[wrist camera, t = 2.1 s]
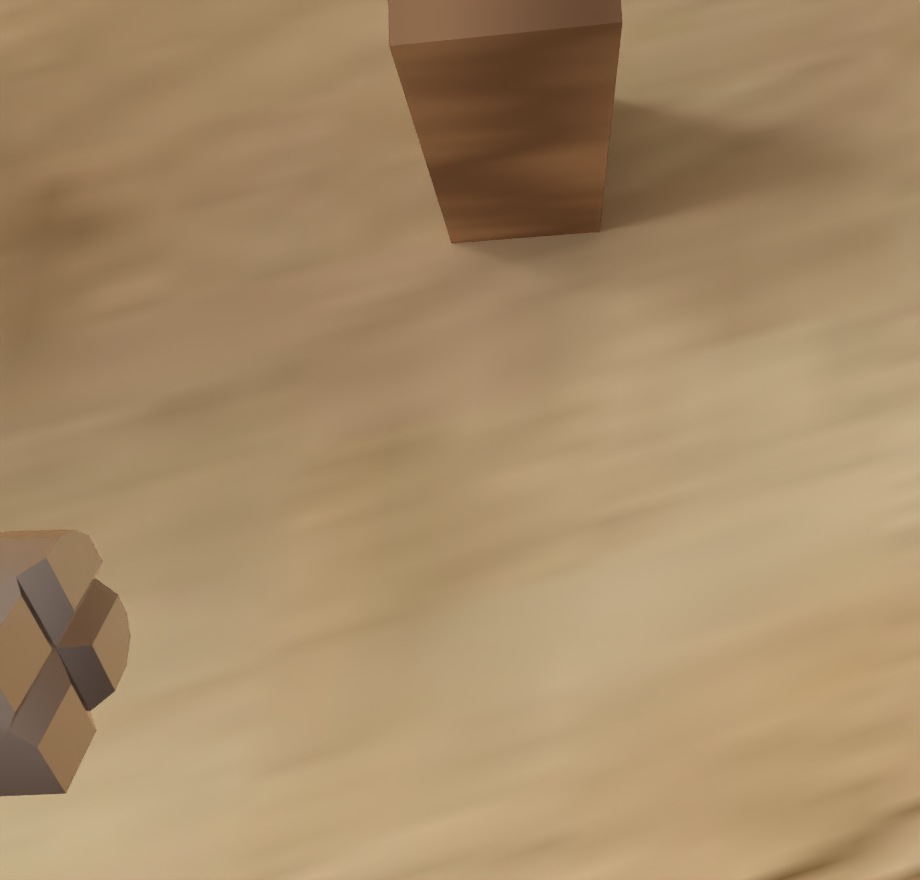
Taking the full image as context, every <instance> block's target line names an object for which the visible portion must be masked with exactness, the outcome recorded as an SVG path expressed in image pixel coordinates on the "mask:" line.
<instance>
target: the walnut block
mask: <svg viewBox="0 0 920 880" xmlns="http://www.w3.org/2000/svg"><path fill="white" fill-rule="evenodd" d="M388 5H389V46H390V49H391V52H392V56H393V59H394V62H395V65H396V68H397V72H398V75H399V78H400V81H401V84H402V87H403V91H404V94H405V97H406V100H407V103H408V106H409V110H410V113H411V116H412V119H413V122H414V125H415V129H416V132H417V135H418V138H419V141H420V144H421V148H422V151H423V154H424V157H425V160H426V163H427V167H428V170H429V173H430V176H431V179H432V182H433V186H434V189H435V192H436V195H437V198H438V201H439V205H440V208H441V211H442V214H443V217H444V221H445V224H446V227H447V230H448V233H449V236H450V240H451V243H459V242H472V241H485V240H498V239H511V238H524V237H536V236H549V235H562V234H575V233H588V232H599V228H600V219H601V210H602V201H603V192H604V183H605V174H606V165H607V156H608V147H609V138H610V129H611V120H612V110H613V101H614V92H615V83H616V74H617V65H618V56H619V47H620V38H621V29H622V12H621V0H388Z"/></svg>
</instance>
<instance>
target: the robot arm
mask: <svg viewBox="0 0 920 880" xmlns="http://www.w3.org/2000/svg"><path fill="white" fill-rule="evenodd" d="M101 564H102V559H101V557H100V556H99V554H98V552H97V550H96V548H95V546H94V544H93V542H92V540H91V539H90V537H89V535H87V534H84V533H81V532H78V531H75V530H47V531H5V532H0V796H15V795H41V794H66V792H67V790H68V788H69V786H70V784H71V782H72V780H73V778H74V776H75V774H76V772H77V769H78V767H79V765H80V763H81V761H82V759H83V757H84V755H85V753H86V751H87V749H88V747H89V745H90V743H91V740H92V738H93V736H94V734H95V732H96V728H95V724H94V721H93V718H92V715H91V710H92V709H93V708H95V707H96V706H97V705H98V704H99V703H101V702H102V701H103V700H104V699H106V698H107V697H108V696H109V695H111V694H112V693H113V692H114V691H115V690H116V688H117V686H118V683H119V681H120V679H121V677H122V674H123V672H124V670H125V668H126V665H127V658H128V650H129V643H130V630H129V624H128V619H127V613H126V611H125V609H124V606H123V604H122V602H121V600H120V598H119V595H118V594H116V593H115V592H114V591H112V590H111V589H109V588H108V587H107V586H105V585H104V584H102V583H101V582H100V581H98V580H97V579H95V578H96V576H97V573H98V571H99V568H100V566H101Z"/></svg>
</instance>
